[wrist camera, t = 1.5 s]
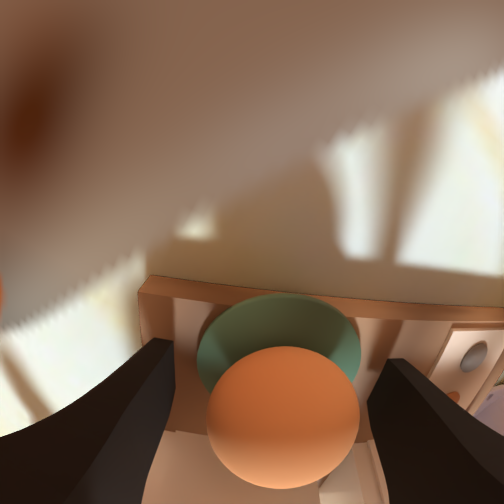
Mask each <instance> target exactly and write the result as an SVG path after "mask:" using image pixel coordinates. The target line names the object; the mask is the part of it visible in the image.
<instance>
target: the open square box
mask: <svg viewBox="0 0 504 504" xmlns="http://www.w3.org/2000/svg"><path fill="white" fill-rule="evenodd" d="M319 497H320V504H389V496H388V489H387V484H386V480H385V476H384V473H383V469H382V466H381V462H380V459H379V455H378V452H377V449H376V445H375V442H374V439H373V440H368V441H367V442H364V443H354V444H353V446H352V448H351V449H350V451H349V453H348V455H347V456H346V457H345V458H344V460H343V461H342V462H341V463H340V464H339V465H338V466H337V467H336V468H335V469H334V470H333V471H332V472H331V473H330V475H329V476H328V477H327V479H326V480H325V481H324V483H323V484H322V485H321V487H320V488H319Z"/></svg>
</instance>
